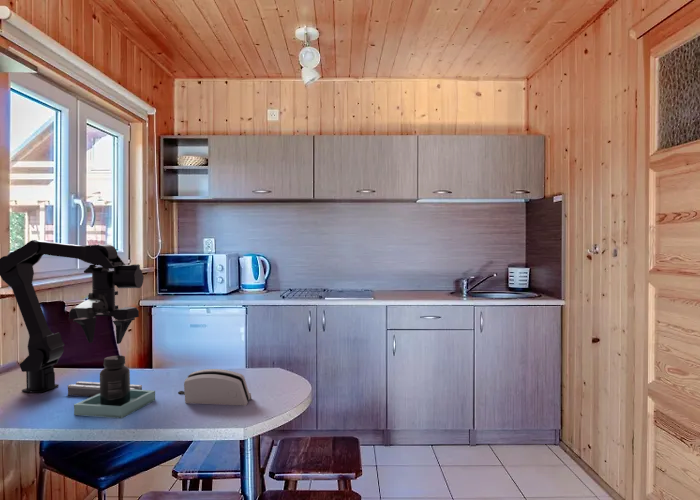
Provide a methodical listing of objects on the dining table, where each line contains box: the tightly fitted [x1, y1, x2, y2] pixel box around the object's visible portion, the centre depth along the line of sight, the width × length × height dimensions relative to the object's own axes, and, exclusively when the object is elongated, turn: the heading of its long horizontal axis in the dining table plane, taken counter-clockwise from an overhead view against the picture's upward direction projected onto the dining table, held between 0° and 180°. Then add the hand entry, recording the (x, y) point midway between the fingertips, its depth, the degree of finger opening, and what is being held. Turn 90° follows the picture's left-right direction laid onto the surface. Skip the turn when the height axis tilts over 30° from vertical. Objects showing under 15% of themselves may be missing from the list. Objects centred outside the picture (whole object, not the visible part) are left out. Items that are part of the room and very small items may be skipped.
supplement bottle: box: [99, 355, 131, 406], centre depth 117 cm, size 7×7×12 cm
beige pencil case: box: [183, 368, 252, 406], centre depth 120 cm, size 17×5×10 cm, turn 82°
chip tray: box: [73, 389, 156, 419], centre depth 117 cm, size 13×13×2 cm
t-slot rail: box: [67, 381, 143, 398], centre depth 127 cm, size 20×4×3 cm, turn 78°
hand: (104, 343), depth 132 cm, fingers open, 9 cm apart
